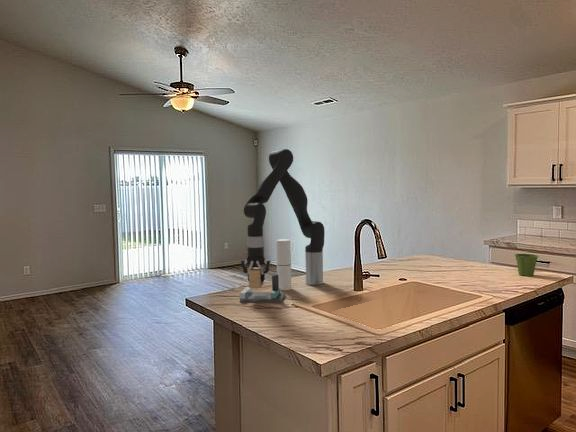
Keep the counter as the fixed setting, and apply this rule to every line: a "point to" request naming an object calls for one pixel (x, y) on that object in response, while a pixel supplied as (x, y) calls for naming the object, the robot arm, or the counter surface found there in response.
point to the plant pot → (526, 264)
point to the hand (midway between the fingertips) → (256, 281)
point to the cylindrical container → (284, 263)
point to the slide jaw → (275, 286)
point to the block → (255, 278)
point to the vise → (259, 296)
